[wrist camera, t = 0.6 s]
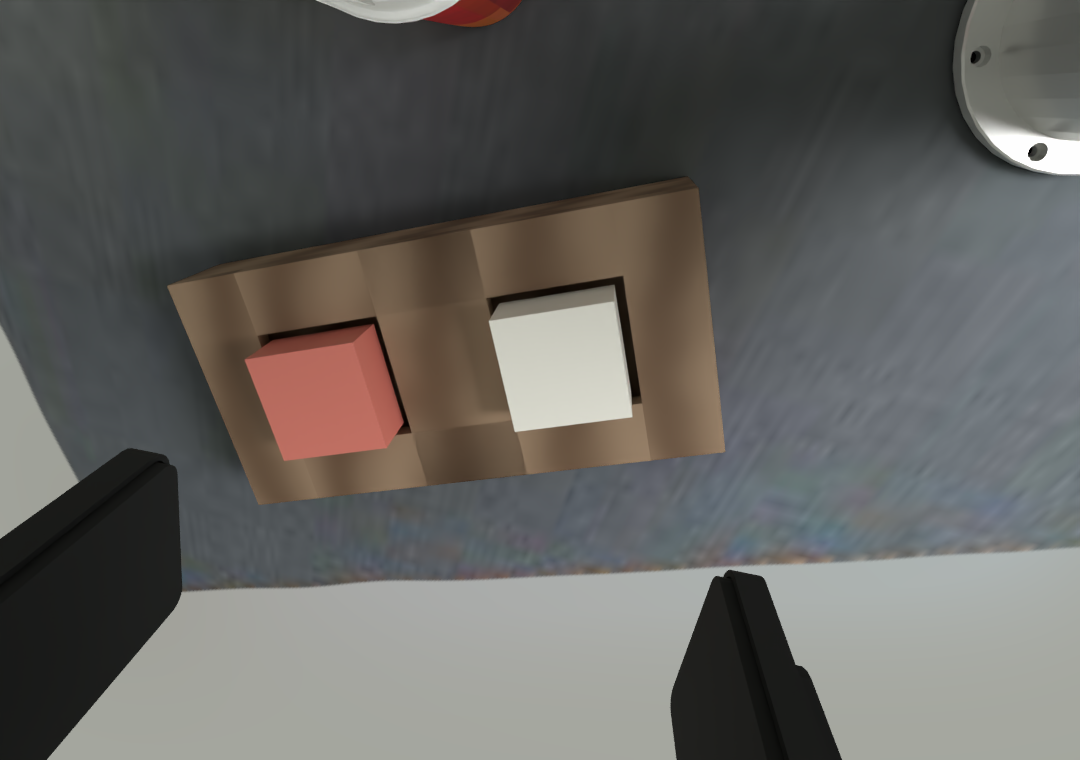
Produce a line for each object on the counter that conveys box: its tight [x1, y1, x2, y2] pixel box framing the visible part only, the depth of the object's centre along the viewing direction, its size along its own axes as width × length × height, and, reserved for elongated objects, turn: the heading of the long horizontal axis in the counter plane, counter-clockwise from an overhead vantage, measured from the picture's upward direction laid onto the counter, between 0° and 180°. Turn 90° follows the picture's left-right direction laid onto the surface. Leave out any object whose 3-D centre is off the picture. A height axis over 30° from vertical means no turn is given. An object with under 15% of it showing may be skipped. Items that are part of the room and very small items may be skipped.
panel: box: [167, 176, 725, 505], centre depth 37 cm, size 28×14×5 cm, turn 101°
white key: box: [489, 285, 632, 432], centre depth 33 cm, size 6×6×3 cm
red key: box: [245, 324, 404, 461], centre depth 35 cm, size 6×6×3 cm
